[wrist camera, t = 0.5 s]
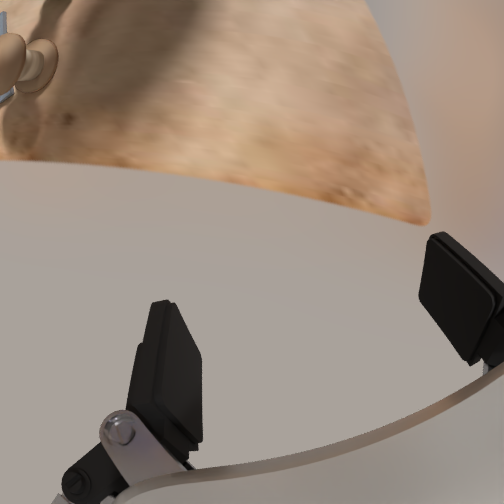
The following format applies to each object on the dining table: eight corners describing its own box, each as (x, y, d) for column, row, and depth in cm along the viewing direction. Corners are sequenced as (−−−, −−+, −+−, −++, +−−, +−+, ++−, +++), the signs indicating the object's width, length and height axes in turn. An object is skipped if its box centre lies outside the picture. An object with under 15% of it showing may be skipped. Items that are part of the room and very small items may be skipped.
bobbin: (13, 57, 22) (-24, 56, 14) (54, 30, 22) (19, 20, 14) (20, 101, 26) (-18, 108, 19) (62, 76, 26) (25, 76, 19)
